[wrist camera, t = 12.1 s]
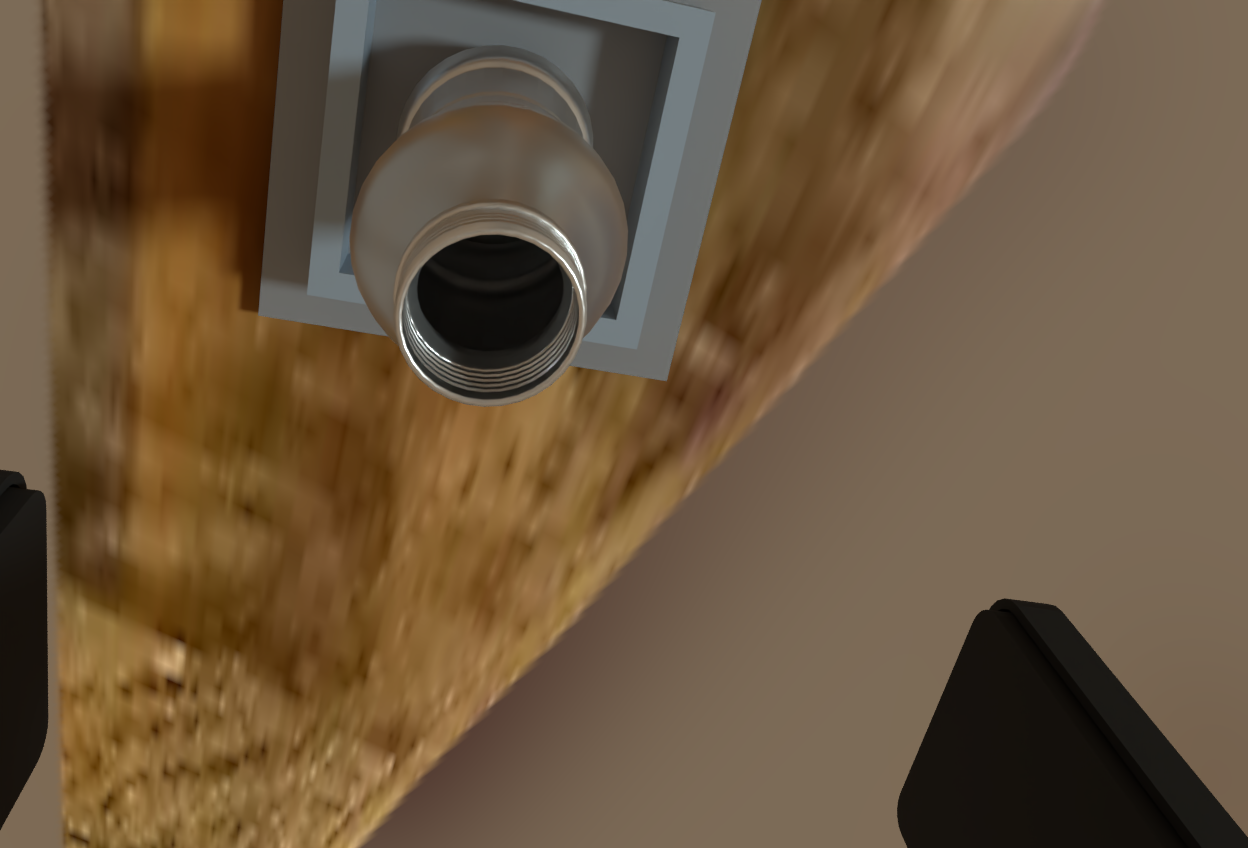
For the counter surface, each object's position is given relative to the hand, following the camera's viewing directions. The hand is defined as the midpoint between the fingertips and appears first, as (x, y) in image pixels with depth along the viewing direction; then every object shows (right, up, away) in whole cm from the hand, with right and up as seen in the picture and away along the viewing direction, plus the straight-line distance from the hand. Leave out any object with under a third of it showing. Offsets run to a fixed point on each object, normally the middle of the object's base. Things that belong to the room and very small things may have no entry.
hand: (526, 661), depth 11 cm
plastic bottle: (-4, +13, +27) cm, 31 cm away
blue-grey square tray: (-3, +13, +28) cm, 31 cm away
